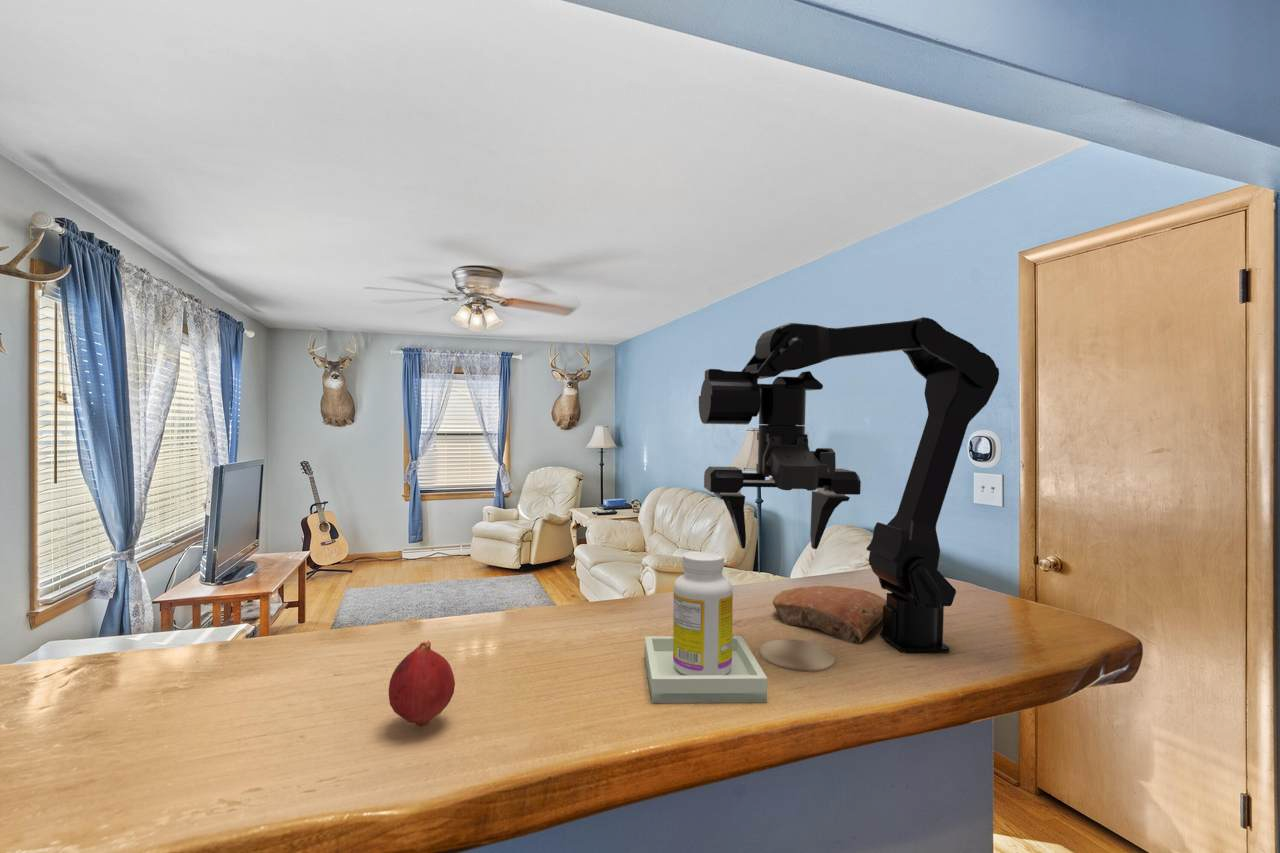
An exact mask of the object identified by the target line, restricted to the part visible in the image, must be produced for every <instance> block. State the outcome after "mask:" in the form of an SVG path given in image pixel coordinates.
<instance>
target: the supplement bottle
mask: <svg viewBox="0 0 1280 853" xmlns="http://www.w3.org/2000/svg"><path fill="white" fill-rule="evenodd" d="M681 565H682V568H683V570H684V571H683V574H681V575H680V576H679V577H677V578H676V579H675V581H674V583H673V613H672V614H673V616H672V617H673V618H672V619H673V620H672V621H673V622H672V623H673V625H672V626H673V629H672V630H673V634H672V635H673V663H674V666H675V668H676V669H677V670H678V671H679V672H681V673H682V674H684V675H687V676H696V675H725V674H727V673H728V672H729V671H730V669H731V666H732V636H733V596H734V595H733V593H734V592H733V585H732V582H731V581H730V579H729V578H727V577H725V576H724V575H723V569H724V567H725V556H724V555H723V554H721V553H720V552H719V553H718V552H714V551H702V550H695V551H687V552H685V553H683V554H682V563H681Z"/></svg>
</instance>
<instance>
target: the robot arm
mask: <svg viewBox="0 0 1280 853" xmlns="http://www.w3.org/2000/svg"><path fill="white" fill-rule="evenodd" d="M897 351H902V352H903V353H904V354H905V355H906V356H907V358H908V359H909V361H910V363H911V365H912V367H913V369H914V370H915V372H917V373H918V374H919V375H920V376H922V377H923V378H924V379H925V380H926V382H925V386H924V393H923V394H924V398H925V403H926V408H927V412H928V414H927V418H926V421H925V424H924V425H925V426H924V428H923V431H922V434H921V437H920V440H919V443H918V447H917V449H916V453H915V456H914V459H913V462H912V465H911V468H910V472H909V475H908V477H907V481H906V484H905V487H904V490H903V494H902V497H901V500H900V502H899V506H898V509H897V511H896V514H895V515H894V517H893V518H892V519H890V521H888V523H887V524H886V523H882V522H876V523H875V526H874V528H873V533H872V539H871V541H870V543H869V545H868V546H867V547H866V549H865V550H866V551H868V552H869V554H868V564H869V566H870V568H871V570H872V572H873V573H874V574H875V576H876V577H877V578H878V582H879V585H880V588H881V589H883V590H886V591H887V593H886V605H884V606H883V620H882V624H881V626H882V629H881V630H879V635H880V636H881V637H883V638H884V639H885V640H886V641H887V642H889V643H890V644H891V645H892V646H894V647H895V648H896V649H898V650H899V651H900V652H904V653H905V652H906V653H909V652H910V653H913V652H914V653H917V652H919V653H923V652H924V653H930V652H931V653H933V652H936V653H937V652H942V653H945V652H946V653H948V652H950V651H951V648H950V646H948V645H947V644H946V643H944V619H945V618H944V616H945V615H944V614H945V612H944V610H945V607H951V606H952V605H953V602H954V600H955V596H956V593H957V590H956V588H955V587H954V586H953V585H952V584H951V583H950V582H949V581H948V580H947V579H946V578H945V577H944V575H943V574H942V573H941V572H940V571H939V569H938V568H939V563H940V556H941V548H940V542H939V539H938V537H939V536H938V534H937V524H938V520H939V517H940V514H941V511H942V507H943V505H944V501H945V498H946V495H947V492H948V488H949V486H950V482H951V480H952V477H953V473H954V470H955V466H956V465H957V464H956V463H957V461H958V457H959V454H960V451H961V448H962V444H963V442H964V439H965V436H966V432H967V429H968V427H969V424H970V422H971V421H972V420H973V419H974V418H975V417H976V416H977V415H978V414H979V413H980V412H981V411H982V409H983V408H984V407H986V405H987V404H988V403H989V401H990V398H991V396H992V395H993V392H994V390H995V389H996V387H997V385H998V383H999V377H1000V370H999V369H1000V368H998V366H997V365H996V362H995V361H994V360H993V359H994V358H992V357H991V356H990V355H989V354H987V353H986V352H981V350H979V349H978V348H977V347H976V346H975V345H974V344H973V343H971V342H970V341H968V340H966V339H963V338H962V337H960V336H958V335H956V334H954V333H952V332H950V331H948V330H947V329H945V328H944V327H943V326H942V325H940V324H939V323H938V321H936V320H934V319H932V318H930V317H925V316H924V317H919V318H915V319H912V320H904V321H903V320H902V321H894V322H886V323H884V322H883V323H876V324H875V323H874V324H866V325H856V326H854V325H853V326H846V327H838V328H837V327H835V328H834V327H826V326H822V325H817V324H810V323H797V322H789V323H785V324H783V325H780V326H777V327H774V328H772V329H769V330H766V331H764V332H763V333H762V334H760V336H759V338H758V339H757V340H756V344H755V348H754V354H753V355H752V356H751V358H750V359H749V360H748V362H747V363H746V365H745V366H744V367H743V369H742V370H741V371H736V370H735V371H733V370H723V369H720V368H710V369H705V371H704V380H703V382H702V385H701V389H700V395H699V396H698V414H699V418H700V422H701V423H702V424H704V425H705V424H707V425H749V424H750V423H751V421H752V419H753V418H754V417H755V418H756V417H757V416H758V432H756V440H757V441H758V444H757V463H756V468H755V471H756V472H743V469H740V468H739V467H736V466H708V467H707V468H706V469H705V471H704V475H703V488H704V489H706V490H707V491H708V492H710V493H713V494H714V495H715V496H716V497H717V498H718V499H719V500H723V502H724V505H725V506H726V508H727V511H728V513H729V516H730V519H731V522H732V524H733V528H734V531H735V533H736V536H737V540H738V543H739V546H740V548H741V549H746V545H747V544H746V543H747V542H746V541H747V535H746V533H747V531H746V517H745V502H746V495H743V494H742V493H741V490H742V489H743V488H749V487H750V488H777V489H779V490H783V491H792V490H806V491H811V503H810V504H811V506H810V508H811V509H810V511H811V512H810V515H811V516H810V531H809V532H810V544H811V545H810V546H811V548H812V549H813V550H817V549H818V548H819V545H820V543H821V540H822V537H823V535H824V533H825V530H826V527H827V525H828V523H829V520H830V518H831V516H832V515H833V512H835V509H837V507H838V506H839V505H840V504H841V503H843V502H849V501H850V500H851V499H850V498H851V497H850V496H847V495H857V496H858V495H861V487H862V485H861V484H862V481H861V478H860V475H859V474H858V473H857V472H856V471H853V470H849V469H845V468H836V467H837V466H836V462H837V461H836V452H835V451H834V449H833V448H830V447H828V448H827V447H822V448H821V447H817V448H815V450H810V447H809V438H808V436H809V435H808V434H806V426H805V425H806V406H807V404H806V401H807V400H806V399H807V398H806V397H807V396H806V395H807V391H809V392H810V391H819V390H823V388H824V385H823V383H821V381H819V380H818V379H816V378H815V376H814V375H813V373H812V372H811V371H810V370H807V371H801V372H800V374H798V376H778V375H780V374H782V373H786V372H791V371H795V370H796V371H797V370H800V369H803V368H808V367H810V366H814V365H817V364H820V363H823V362H826V361H828V360H831V359H835V358H836V359H837V358H843V357H844V358H846V357H852V356H861V355H862V356H865V355H870V354H871V355H872V354H879V353H889V352H897ZM768 378H775V379H774V380H773V381H772V383H758V382H759V380H762V379H768ZM766 478H768V479H766Z"/></svg>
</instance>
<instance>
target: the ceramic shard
mask: <svg viewBox="0 0 1280 853" xmlns="http://www.w3.org/2000/svg"><path fill="white" fill-rule="evenodd" d="M886 601H887V599H885V598H884V597H882V596H880V595H879V594H876V593H874V592H870V591H867V590H864V589H857V588H853V587H852V588H851V587H842V586H834V585H833V586H832V585H813V586H807V587H805V586H804V587H795V588H791V589H786V590H782V591H781V592H780V593H778V594H776V595H774V597H773V600H772V605H773V607H774V609H775V611H776V613H777V614H778V615H779V616H780V618H781V619H782V622H783V623H784V624H786V625H788V626H789V625H790V626H791V625H792V626H798V627H799V626H800V627H805V628H813V629H814V628H815V629H818V630H820V631H822V632H824V633H825V634H827V635H831V636H835V637H837V638H840V639H843V640H844V641H847V642H849V643H852V644H858V645H860V643H861V642H863V640H864V639H865V637H867V635H869V633H870V632H871V631H872V630H873V629H874V628H875V627H876V626H877V625H879V623H880V622H881V621H883V606H884V605H886Z"/></svg>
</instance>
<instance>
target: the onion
mask: <svg viewBox="0 0 1280 853" xmlns="http://www.w3.org/2000/svg"><path fill="white" fill-rule="evenodd" d="M431 645H432V644H431V642H430V640H423V641H421V642H420V643H419V644H418V646H417V647H416V648H415V649H413V651H411V652H409V653H408V654H407V655H406V656H404V658H403V659H402V660H401V661H400V662H399V663H398V665H397V666H396V667H395V669H394V670H393V673H392V675H391V677H390V680H389V684H388V699H389V700H388V701H389V706H390V707H391V708H392V711H393V712H394V714H396V715H397V716H399V718H402V719H403V720H405V721H406V722H409V723H412V724H414V725H416V726H418V727H425V726H427V725H429V724H430V722H431V721H432V720H434V719H435V718H436V717H437V716H439V715H440V714H441V713H442V712H443V711H444V710H445V709H446V708H447V706H448V705H449V704H450V703H451V700H452V698H453V695H454V693H455V685H456V682H455V676H454V672H453V669H452V667H451V664H450V663H449V662H448V660H447V659H446V658H445V657H444V656H442V655H441V654H440V653H438V652H437V651H435V650H433V649H432V648H431Z"/></svg>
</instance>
